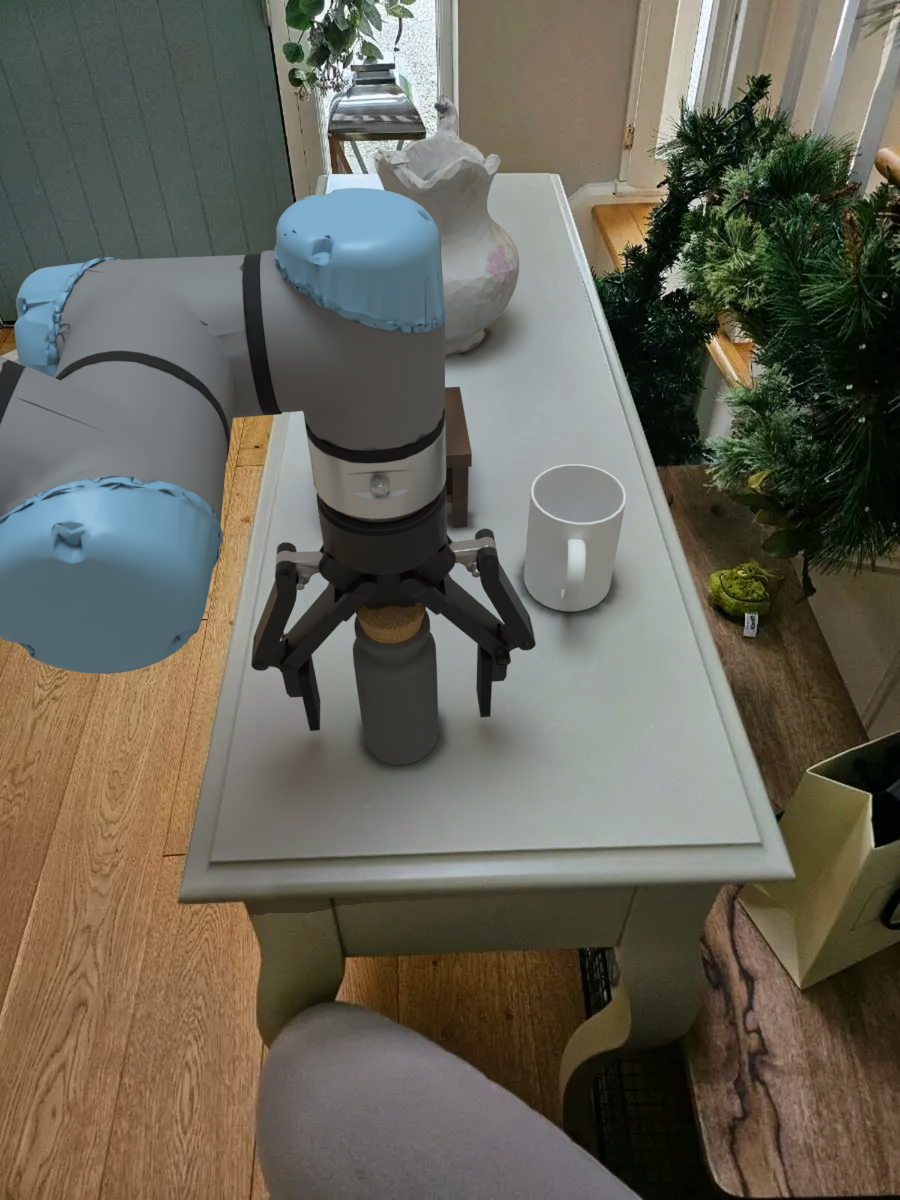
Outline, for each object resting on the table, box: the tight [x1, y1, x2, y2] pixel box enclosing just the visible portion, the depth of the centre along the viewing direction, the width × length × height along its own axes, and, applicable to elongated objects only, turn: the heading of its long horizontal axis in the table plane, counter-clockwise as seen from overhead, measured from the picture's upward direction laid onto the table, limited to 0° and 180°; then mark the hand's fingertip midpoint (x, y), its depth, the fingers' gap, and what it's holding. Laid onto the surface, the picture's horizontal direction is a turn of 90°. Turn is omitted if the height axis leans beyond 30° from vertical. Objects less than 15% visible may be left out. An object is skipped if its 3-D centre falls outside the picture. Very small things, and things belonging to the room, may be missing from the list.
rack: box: [445, 386, 473, 528], centre depth 84 cm, size 14×11×9 cm
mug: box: [523, 463, 627, 612], centre depth 73 cm, size 12×8×10 cm, turn 174°
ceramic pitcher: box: [373, 94, 520, 355], centre depth 101 cm, size 22×20×25 cm
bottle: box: [352, 602, 439, 766], centre depth 62 cm, size 6×6×15 cm
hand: (399, 709), depth 65 cm, fingers open, 12 cm apart
